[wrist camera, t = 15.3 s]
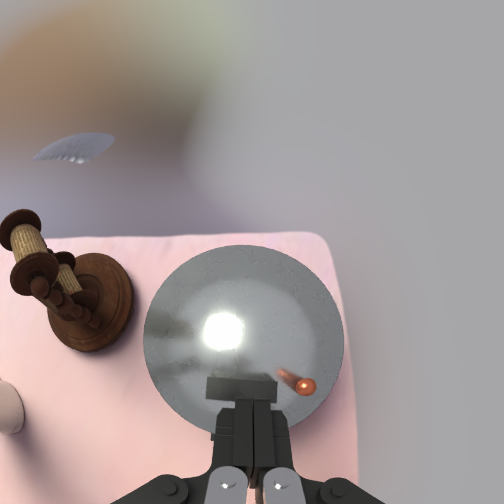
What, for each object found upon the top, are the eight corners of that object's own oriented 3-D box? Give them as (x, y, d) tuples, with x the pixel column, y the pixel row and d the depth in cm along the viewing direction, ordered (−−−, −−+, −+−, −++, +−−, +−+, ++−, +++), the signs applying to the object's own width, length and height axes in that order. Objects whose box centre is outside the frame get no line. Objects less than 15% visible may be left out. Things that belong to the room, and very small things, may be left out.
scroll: (43, 297, 36) (-37, 236, 18) (106, 243, 41) (50, 155, 23) (84, 373, 31) (-15, 347, 14) (156, 311, 37) (96, 240, 19)
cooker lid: (336, 433, 22) (348, 437, 19) (138, 421, 21) (128, 424, 19) (334, 258, 31) (343, 246, 28) (164, 245, 30) (158, 230, 27)
